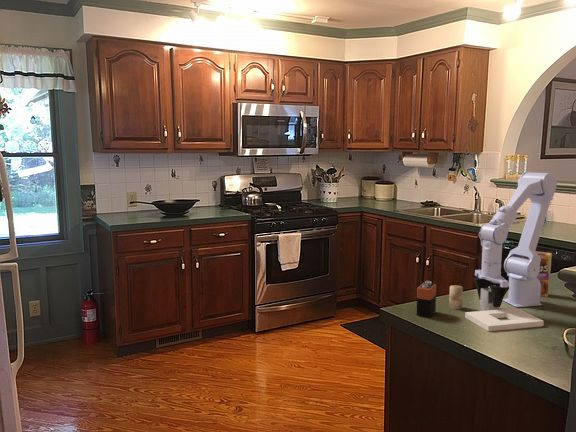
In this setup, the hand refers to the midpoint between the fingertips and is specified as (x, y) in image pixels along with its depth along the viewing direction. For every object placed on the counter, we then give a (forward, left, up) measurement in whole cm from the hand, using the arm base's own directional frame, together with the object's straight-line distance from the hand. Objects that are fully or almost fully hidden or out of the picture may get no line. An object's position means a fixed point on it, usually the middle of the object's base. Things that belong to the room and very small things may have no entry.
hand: (489, 303), depth 158 cm
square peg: (0, 0, -2) cm, 2 cm away
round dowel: (+9, -5, -2) cm, 11 cm away
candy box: (-26, -12, -3) cm, 29 cm away
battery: (+21, -2, -3) cm, 21 cm away
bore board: (+2, +10, -2) cm, 10 cm away
